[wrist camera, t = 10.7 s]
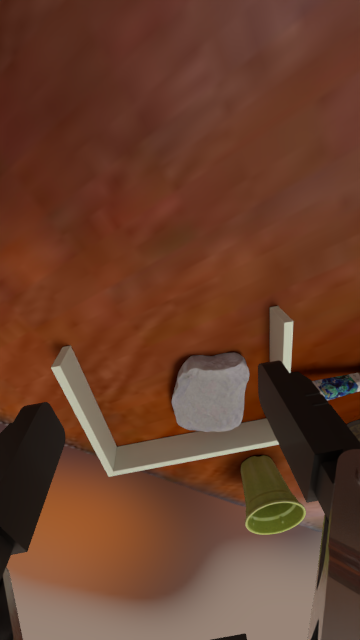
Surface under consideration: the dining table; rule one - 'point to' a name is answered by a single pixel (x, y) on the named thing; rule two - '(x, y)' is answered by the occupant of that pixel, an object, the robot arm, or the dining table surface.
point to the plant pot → (268, 498)
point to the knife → (338, 385)
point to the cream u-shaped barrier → (174, 446)
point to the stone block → (211, 392)
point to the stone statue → (355, 428)
